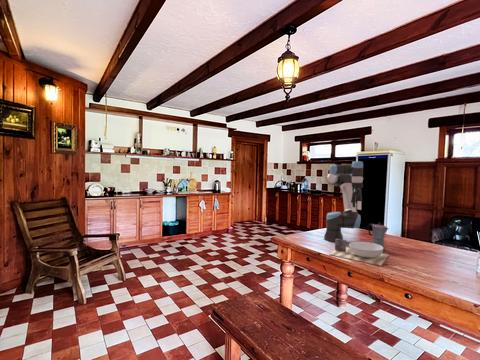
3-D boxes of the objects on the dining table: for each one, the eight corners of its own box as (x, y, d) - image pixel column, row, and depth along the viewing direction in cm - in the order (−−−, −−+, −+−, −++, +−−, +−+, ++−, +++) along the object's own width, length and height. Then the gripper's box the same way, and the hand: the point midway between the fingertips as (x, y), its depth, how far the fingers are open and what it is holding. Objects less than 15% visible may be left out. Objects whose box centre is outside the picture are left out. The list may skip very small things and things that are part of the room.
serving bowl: (353, 249, 187) (353, 239, 186) (386, 254, 173) (386, 244, 173) (344, 256, 170) (345, 246, 170) (379, 263, 157) (379, 252, 157)
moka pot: (385, 252, 181) (385, 224, 180) (363, 247, 193) (364, 221, 192) (390, 249, 187) (391, 222, 186) (369, 245, 199) (369, 219, 198)
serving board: (329, 254, 175) (329, 242, 175) (341, 246, 194) (341, 235, 194) (381, 265, 155) (381, 251, 155) (388, 255, 174) (388, 243, 174)
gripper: (357, 183, 176) (357, 213, 177) (366, 181, 195) (366, 209, 196) (346, 182, 181) (346, 212, 182) (356, 181, 200) (356, 208, 201)
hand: (356, 210), depth 189 cm, fingers open, 13 cm apart
